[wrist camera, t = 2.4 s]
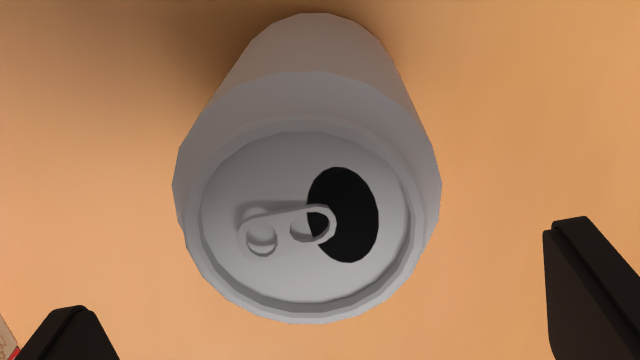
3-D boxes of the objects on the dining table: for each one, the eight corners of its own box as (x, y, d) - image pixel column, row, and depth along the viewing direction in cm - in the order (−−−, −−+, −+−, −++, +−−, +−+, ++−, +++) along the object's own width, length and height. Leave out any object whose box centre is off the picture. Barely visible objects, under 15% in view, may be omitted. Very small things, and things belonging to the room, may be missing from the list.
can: (405, 155, 25) (464, 331, 14) (255, 178, 25) (200, 363, 15) (388, -6, 21) (445, 62, 11) (216, 25, 22) (106, 120, 11)
